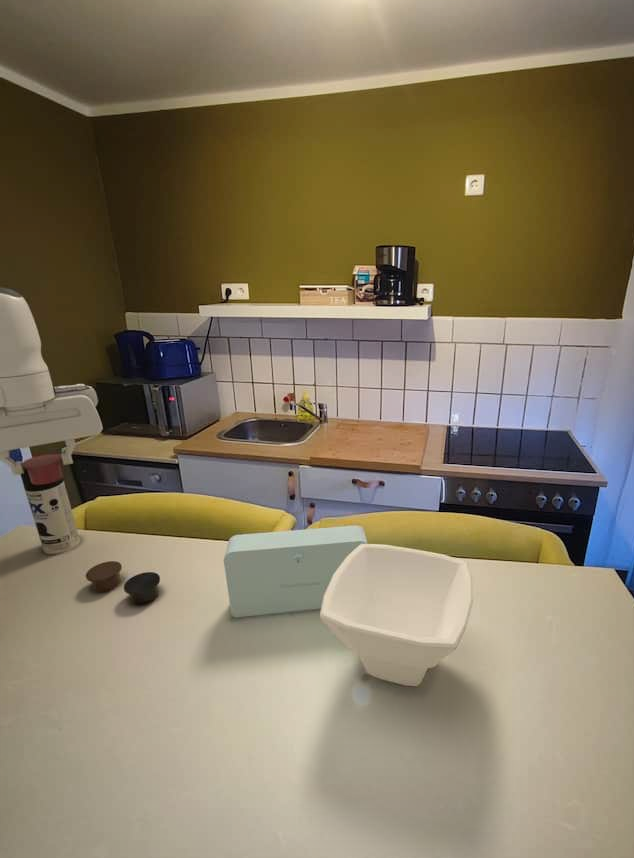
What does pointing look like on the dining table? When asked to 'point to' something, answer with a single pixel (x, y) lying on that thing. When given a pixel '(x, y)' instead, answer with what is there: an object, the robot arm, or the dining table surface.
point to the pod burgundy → (44, 469)
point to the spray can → (52, 514)
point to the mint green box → (285, 568)
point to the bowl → (399, 609)
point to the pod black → (143, 588)
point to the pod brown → (105, 576)
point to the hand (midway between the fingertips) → (43, 468)
